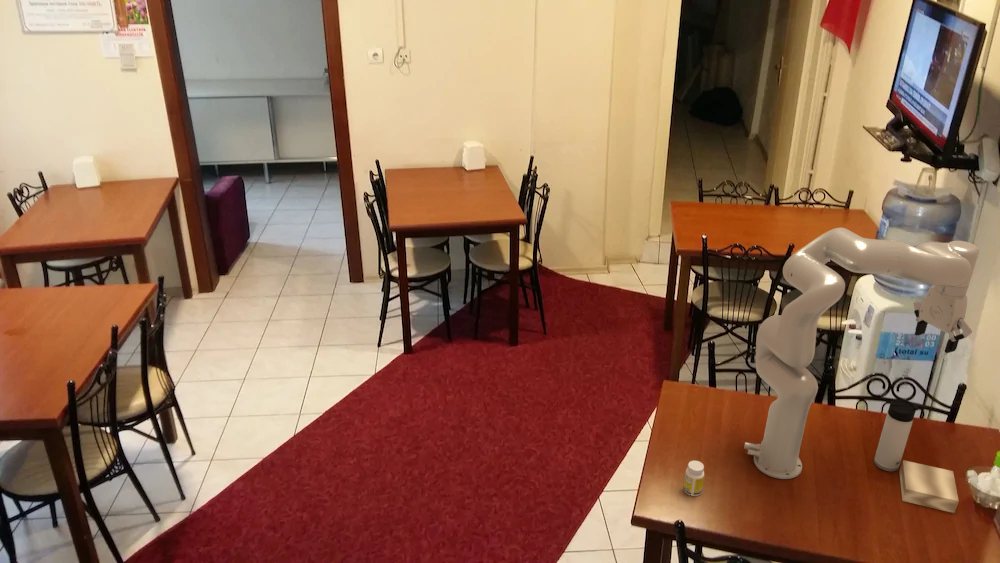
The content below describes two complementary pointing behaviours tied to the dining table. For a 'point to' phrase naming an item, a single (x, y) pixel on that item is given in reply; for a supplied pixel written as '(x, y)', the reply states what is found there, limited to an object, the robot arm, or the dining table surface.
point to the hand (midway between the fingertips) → (934, 342)
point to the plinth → (928, 486)
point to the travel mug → (894, 435)
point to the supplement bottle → (694, 478)
